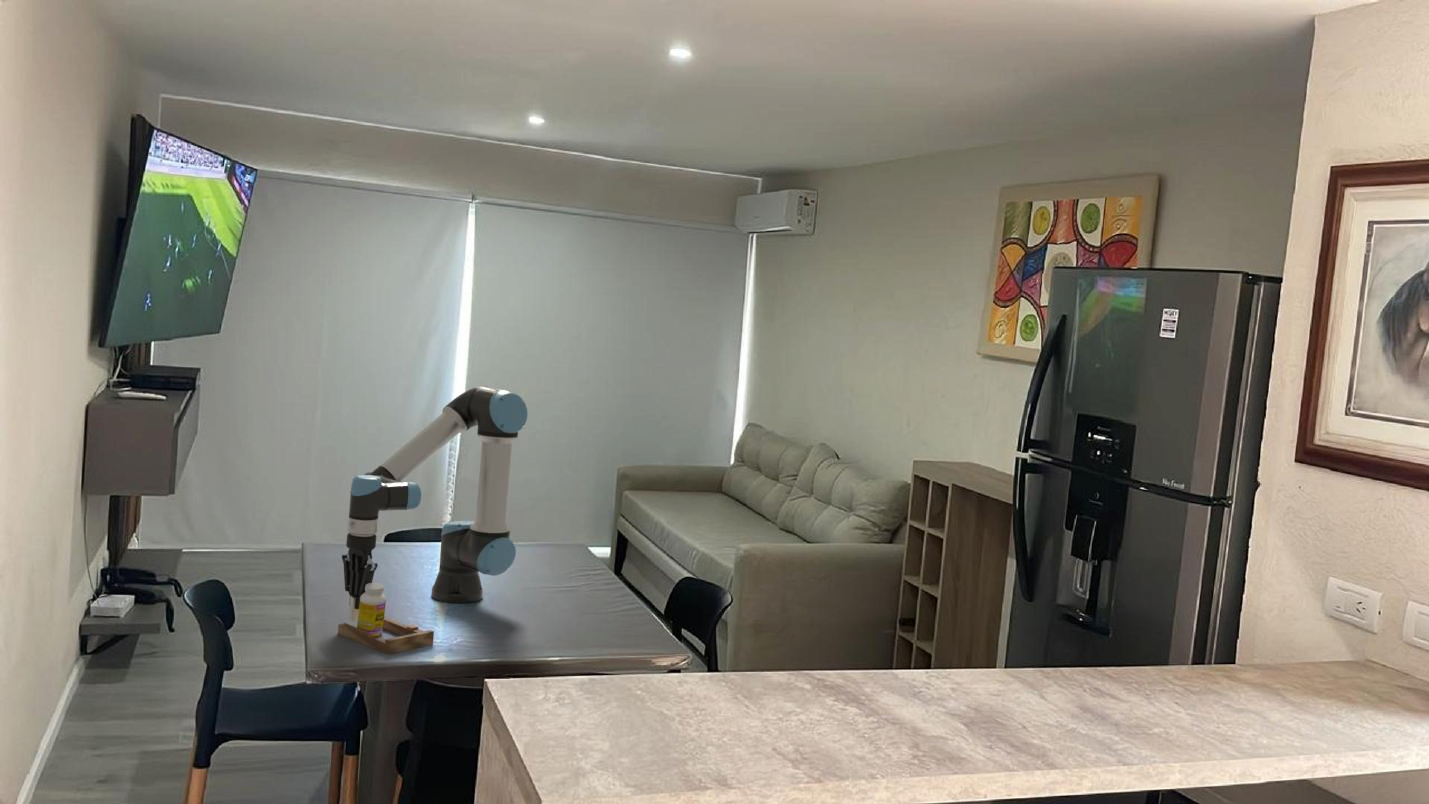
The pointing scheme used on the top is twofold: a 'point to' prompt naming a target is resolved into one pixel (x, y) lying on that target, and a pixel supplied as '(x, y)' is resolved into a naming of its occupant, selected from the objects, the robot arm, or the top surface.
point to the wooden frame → (406, 641)
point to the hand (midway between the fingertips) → (354, 619)
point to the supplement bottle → (372, 609)
